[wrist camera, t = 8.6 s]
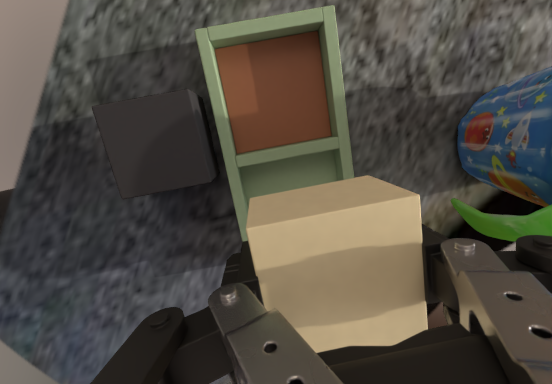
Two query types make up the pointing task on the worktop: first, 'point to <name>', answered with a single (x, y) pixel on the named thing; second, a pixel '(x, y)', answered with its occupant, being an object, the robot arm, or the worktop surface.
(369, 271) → the foam pad
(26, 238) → the worktop surface
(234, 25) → the frame
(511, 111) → the snack cup
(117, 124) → the dark gray block
